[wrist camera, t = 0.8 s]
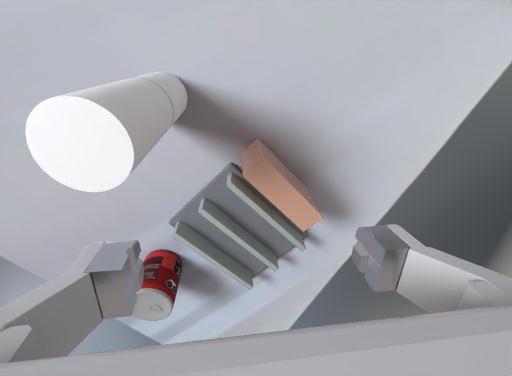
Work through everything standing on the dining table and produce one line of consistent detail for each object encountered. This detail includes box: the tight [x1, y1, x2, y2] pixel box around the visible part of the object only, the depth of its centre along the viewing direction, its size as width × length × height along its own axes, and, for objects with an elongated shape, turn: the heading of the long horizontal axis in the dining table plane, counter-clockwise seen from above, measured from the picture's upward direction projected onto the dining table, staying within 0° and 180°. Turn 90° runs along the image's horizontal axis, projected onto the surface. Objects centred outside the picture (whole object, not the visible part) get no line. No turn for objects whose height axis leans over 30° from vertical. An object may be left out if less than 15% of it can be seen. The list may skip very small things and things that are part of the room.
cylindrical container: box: [26, 72, 188, 192], centre depth 30 cm, size 7×7×25 cm
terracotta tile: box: [241, 138, 323, 232], centre depth 44 cm, size 4×14×10 cm, turn 43°
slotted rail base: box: [169, 163, 308, 290], centre depth 51 cm, size 17×22×5 cm
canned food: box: [132, 250, 182, 321], centre depth 51 cm, size 8×8×11 cm
